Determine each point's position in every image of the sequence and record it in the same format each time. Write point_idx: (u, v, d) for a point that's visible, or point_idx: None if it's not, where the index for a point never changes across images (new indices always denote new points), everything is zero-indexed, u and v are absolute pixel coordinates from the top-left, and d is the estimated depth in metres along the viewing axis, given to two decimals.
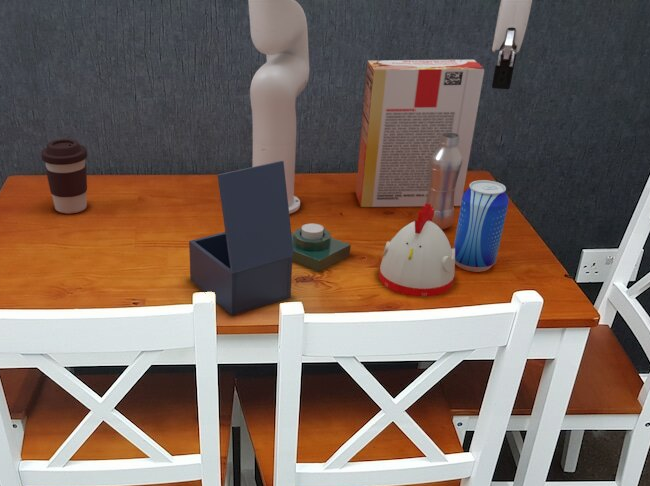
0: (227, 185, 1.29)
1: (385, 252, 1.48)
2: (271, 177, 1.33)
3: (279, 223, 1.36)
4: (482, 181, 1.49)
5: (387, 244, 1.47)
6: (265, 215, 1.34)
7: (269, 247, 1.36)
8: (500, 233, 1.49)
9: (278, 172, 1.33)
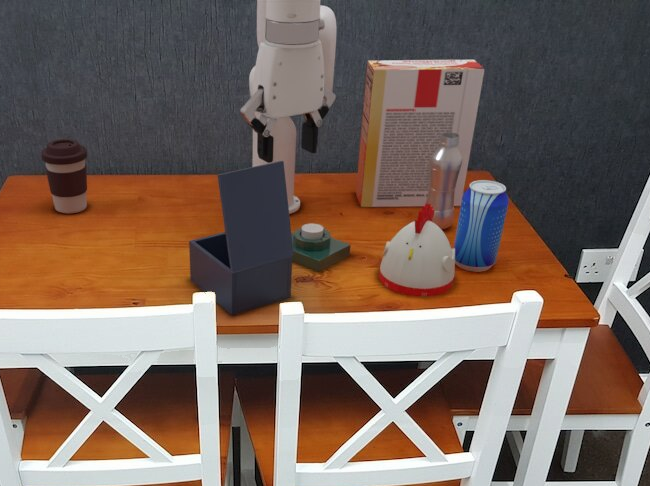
0: (227, 185, 1.29)
1: (385, 252, 1.48)
2: (271, 177, 1.33)
3: (279, 223, 1.36)
4: (482, 181, 1.49)
5: (387, 244, 1.47)
6: (265, 215, 1.34)
7: (269, 247, 1.36)
8: (500, 233, 1.49)
9: (278, 172, 1.33)
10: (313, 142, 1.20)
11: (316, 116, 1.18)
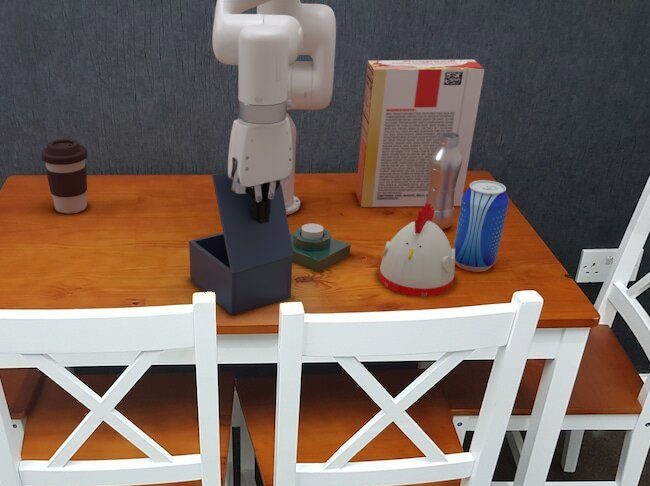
0: (222, 185, 1.31)
1: (385, 252, 1.48)
2: None
3: (277, 223, 1.37)
4: (482, 181, 1.49)
5: (387, 244, 1.47)
6: None
7: (268, 246, 1.36)
8: (500, 233, 1.49)
9: None
10: (266, 213, 1.31)
11: (268, 190, 1.29)
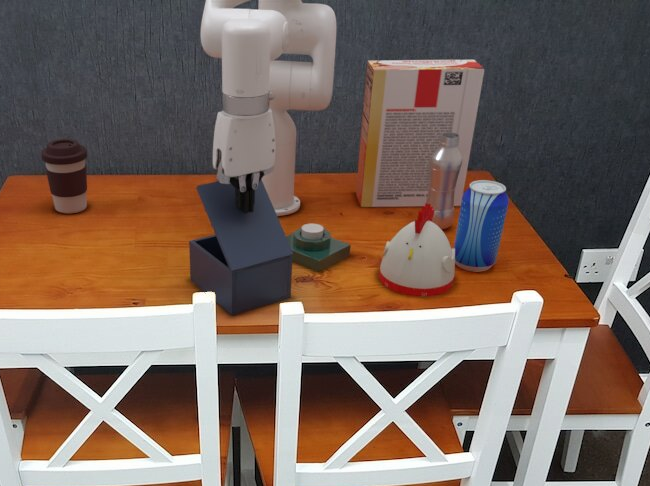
0: (207, 194, 1.36)
1: (385, 252, 1.48)
2: None
3: (269, 225, 1.39)
4: (482, 181, 1.49)
5: (387, 244, 1.47)
6: (252, 218, 1.38)
7: (265, 247, 1.37)
8: (500, 233, 1.49)
9: None
10: (250, 203, 1.35)
11: (252, 180, 1.33)
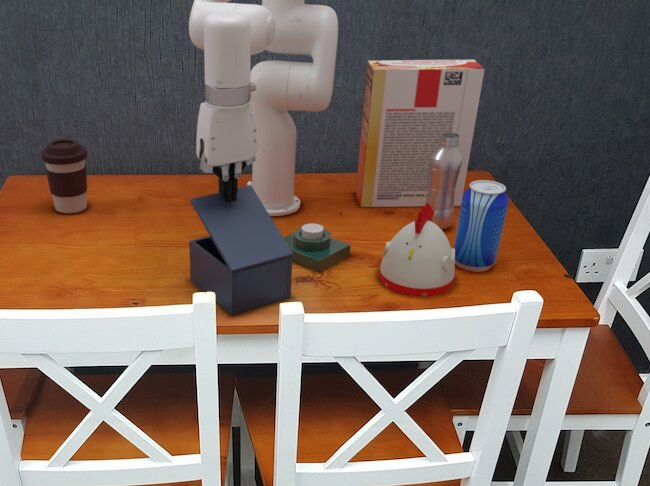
0: (201, 205, 1.39)
1: (385, 252, 1.48)
2: (243, 197, 1.43)
3: (266, 229, 1.40)
4: (482, 181, 1.49)
5: (387, 244, 1.47)
6: (248, 224, 1.40)
7: (264, 248, 1.38)
8: (500, 233, 1.49)
9: (249, 193, 1.44)
10: (233, 192, 1.39)
11: (234, 170, 1.37)
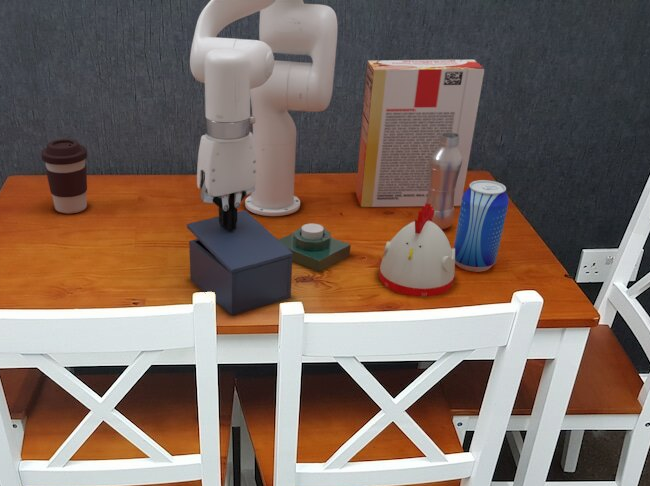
0: (197, 227, 1.44)
1: (385, 252, 1.48)
2: (238, 218, 1.47)
3: (263, 238, 1.42)
4: (482, 181, 1.49)
5: (387, 244, 1.47)
6: (245, 236, 1.42)
7: (262, 251, 1.39)
8: (500, 233, 1.49)
9: (243, 215, 1.48)
10: (233, 221, 1.42)
11: (234, 200, 1.40)
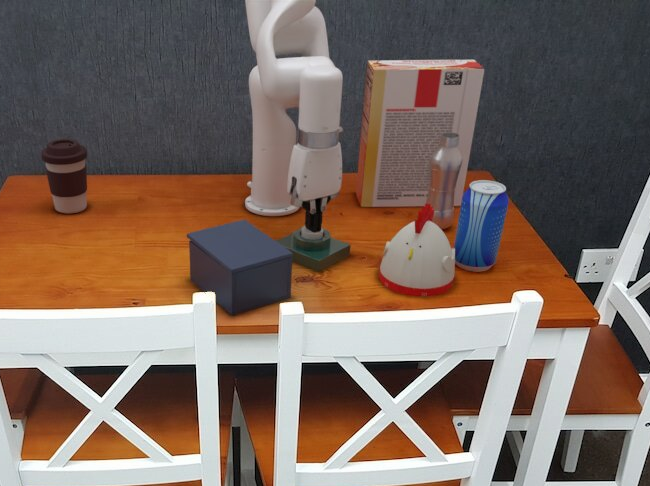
0: (197, 235, 1.45)
1: (385, 252, 1.48)
2: (238, 226, 1.48)
3: (263, 242, 1.43)
4: (482, 181, 1.49)
5: (387, 244, 1.47)
6: (245, 241, 1.43)
7: (262, 253, 1.39)
8: (500, 233, 1.49)
9: (243, 223, 1.49)
10: (318, 223, 1.54)
11: (321, 204, 1.52)
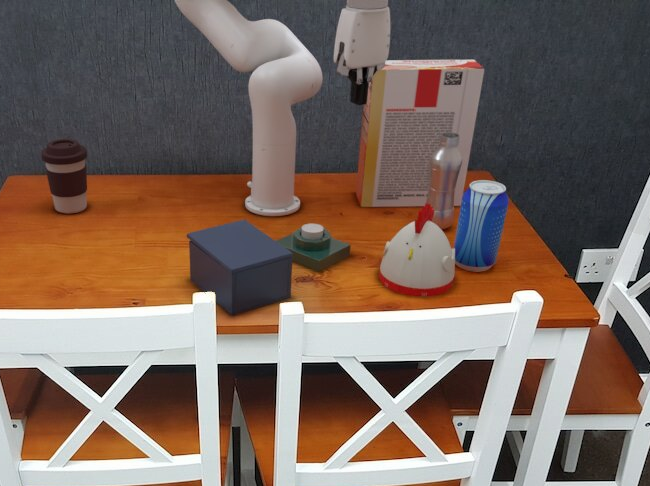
0: (197, 235, 1.45)
1: (385, 252, 1.48)
2: (238, 226, 1.48)
3: (263, 242, 1.43)
4: (482, 181, 1.49)
5: (387, 244, 1.47)
6: (245, 241, 1.43)
7: (262, 253, 1.39)
8: (500, 233, 1.49)
9: (243, 223, 1.49)
10: (364, 95, 1.51)
11: (367, 74, 1.49)
